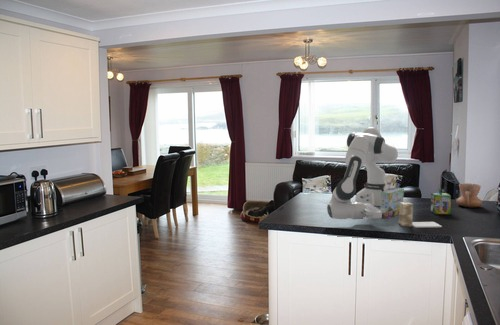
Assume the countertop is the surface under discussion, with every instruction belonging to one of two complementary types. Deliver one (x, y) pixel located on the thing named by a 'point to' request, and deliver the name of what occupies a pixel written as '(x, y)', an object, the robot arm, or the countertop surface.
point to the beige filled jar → (405, 214)
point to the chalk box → (440, 203)
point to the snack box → (391, 201)
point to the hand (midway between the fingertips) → (384, 210)
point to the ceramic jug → (469, 195)
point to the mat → (425, 224)
